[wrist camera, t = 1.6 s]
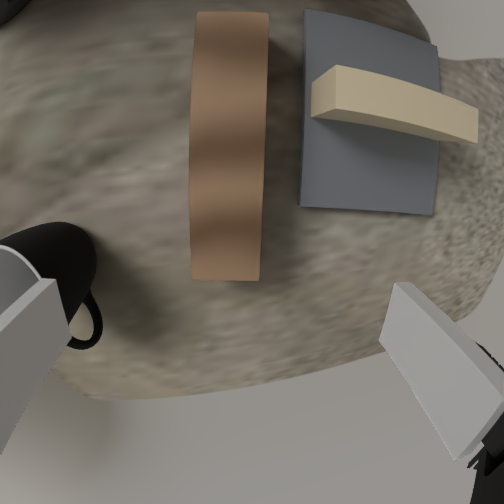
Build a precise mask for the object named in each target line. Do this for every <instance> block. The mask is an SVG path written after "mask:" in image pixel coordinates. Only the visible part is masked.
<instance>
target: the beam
mask: <svg viewBox="0 0 504 504" xmlns="http://www.w3.org/2000/svg"><path fill="white" fill-rule="evenodd" d="M268 33H269V13H262V12H241V11H212V12H197V19H196V29H195V41H194V53H193V68H192V84H191V106H190V140H189V210H190V245H191V268H192V280H206V281H259V272H260V251H261V228H262V205H263V180H264V155H265V128H266V99H267V67H268Z"/></svg>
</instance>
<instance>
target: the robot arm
mask: <svg viewBox="0 0 504 504" xmlns="http://www.w3.org/2000/svg"><path fill="white" fill-rule="evenodd" d="M30 1H31V0H0V26H1V25H2V24H4V23H5V22H7V21H8V20H10V19H11V18H12V17H13V16H15V15H16V14H17V13H18V12H19V11H20V10H21V9H22V8H24V7H25V6H26V5H27V4H28V3H29V2H30ZM71 338H72V336H71V333H70V329H69V326H68V323H67V320H66V316H65V313H64V309H63V306H62V302H61V298H60V294H59V290H58V286H57V282H56V279H46V278H42V279H41V280H39V281H38V282H37V283H36V284H35V285H33V286H32V287H31V288H30V289H29V290H28V291H26V292H25V293H24V294H23V295H22V296H21V297H20V298H19V299H17V300H16V301H15V302H14V303H13V304H12V305H11V306H10V307H9V308H7V309H6V310H5V311H4V312H3V313H2V314H1V315H0V454H2V452H3V450H4V448H5V446H6V444H7V442H8V440H9V438H10V436H11V434H12V432H13V431H14V429H15V427H16V425H17V423H18V422H19V420H20V418H21V416H22V414H23V413H24V411H25V409H26V407H27V406H28V404H29V402H30V401H31V399H32V397H33V396H34V394H35V392H36V390H37V389H38V388H39V386H40V384H41V382H42V381H43V380H44V378H45V377H46V375H47V373H48V372H49V370H50V369H51V367H52V366H53V364H54V363H55V361H56V360H57V358H58V357H59V355H60V354H61V352H62V351H63V349H64V348H65V347H66V345H67V344H68V342H69V341H70V339H71ZM379 342H380V343H381V344H382V346H383V347H384V349H385V350H386V352H387V353H388V355H389V356H390V358H391V359H392V361H393V362H394V364H395V365H396V367H397V368H398V370H399V372H400V373H401V375H402V376H403V378H404V379H405V381H406V382H407V384H408V385H409V387H410V389H411V390H412V391H413V393H414V395H415V396H416V398H417V400H418V401H419V403H420V405H421V406H422V408H423V409H424V411H425V413H426V414H427V416H428V417H429V419H430V421H431V423H432V424H433V426H434V428H435V429H436V431H437V433H438V434H439V436H440V438H441V439H442V441H443V443H444V445H445V446H446V448H447V450H448V452H449V453H450V455H451V457H452V459H453V461H456V460H458V459H460V458H462V457H464V456H465V455H468V454H469V453H471V452H472V451H473V450H474V449H475V448H476V446H477V445H478V444H479V443H480V442H481V441H482V442H483V444H484V447H483V448H482V449H481V450H480V451H479V452H478V454H477V455H476V456H475V457H474V458H473V459H472V460H471V461H470V462H469V464H468V466H467V468H470V467H471V466H472V465H473V464H474V463H475V462H476V461H477V460H478V459H479V460H478V463H477V464H476V465H475V467H474V469H476V470H477V473H476V478H475V484H474V488H473V494H472V498H471V502H470V504H504V368H503V367H502V366H501V365H498V362H497V361H496V360H495V359H494V358H493V357H491V354H489V353H488V352H487V351H486V349H485V348H484V347H483V346H481V345H479V344H478V343H476V342H474V341H473V340H472V339H471V338H470V337H469V336H468V335H467V334H466V333H465V332H464V331H463V330H462V329H461V328H460V327H459V326H458V325H457V324H456V323H455V322H454V321H452V320H451V319H450V318H449V317H448V316H447V315H446V314H445V313H444V312H443V311H442V310H441V309H440V308H439V307H437V306H436V305H435V304H434V303H433V302H432V301H431V300H430V299H429V298H428V297H426V296H425V295H424V294H423V293H422V292H421V291H420V290H419V289H417V288H416V287H415V286H414V285H413V284H412V283H411V282H394V286H393V290H392V295H391V299H390V302H389V306H388V310H387V314H386V317H385V321H384V324H383V328H382V331H381V335H380V338H379Z"/></svg>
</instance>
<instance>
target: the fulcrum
mask: <svg viewBox="0 0 504 504" xmlns="http://www.w3.org/2000/svg"><path fill="white" fill-rule="evenodd" d="M440 141H451V142H462V143H473V144H478V109H476V108H474V107H472V106H470V105H468V104H465V103H463V102H461V101H458V100H456V99H453V98H451V97H448V96H446V95H443V94H441V93H440V76H439V62H438V51H437V46H434V45H432V44H430V43H428V42H425V41H423V40H420V39H418V38H415V37H413V36H410V35H407V34H405V33H402V32H399V31H396V30H393V29H390V28H387V27H384V26H381V25H377V24H374V23H371V22H367V21H363V20H360V19H356V18H352V17H348V16H343V15H339V14H334V13H329V12H324V11H318V10H313V9H306V8H305V10H304V12H303V98H302V130H301V153H300V173H299V190H298V205H299V206H300V207H323V208H342V209H359V210H374V211H388V212H400V213H412V214H423V215H432V214H433V207H434V200H435V192H436V184H437V174H438V163H439V149H440Z"/></svg>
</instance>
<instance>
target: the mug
mask: <svg viewBox="0 0 504 504" xmlns="http://www.w3.org/2000/svg"><path fill="white" fill-rule="evenodd" d="M95 271H96V254H95V250H94V247H93V244H92V242H91V240H90V239H89V237H88V236H87V235H86V234H85V233H84V232H83V231H82V230H81V229H80V228H78V227H77V226H75V225H73V224H70V223H66V222H51V223H46V224H41V225H37V226H34V227H31V228H28V229H25V230H22V231H20V232H17V233H15V234H12V235H10V236H8V237H6V238H4V239H2V240H0V315H1V314H2V313H3V312H4V311H5V310H6V309H7V308H9V307H10V306H11V305H12V304H13V303H14V302H15V301H16V300H17V299H19V298H20V297H21V296H22V295H23V294H24V293H25V292H26V291H28V290H29V289H30V288H31V287H32V286H33V285H35V284H36V283H37V282H38V281H39V280H41V279H42V278H46V279H56V282H57V286H58V290H59V294H60V298H61V302H62V306H63V309H64V313H65V316H66V320H67V323H68V326H69V323H70V321H71V320H72V318H73V316H74V315H75V313H76V312H77V310H78V308H79V306H80V305H81V303H82V302H83V303H84V304H85V305H86V306H87V308H88V309H89V311H90V314H91V316H92V319H93V324H94V331H93V335H92V337H91V338H90V339H89V340H86V341H84V340H79V339H76V338H74V337H73V336H72V338H71V339H70V341H69V342H68V344H67V346H69V347H71V348H74V349H79V350H84V349H88V348H91V347H93V346H94V345H95V344H96V343H97V342H98V341H99V339H100V337H101V335H102V331H103V321H102V316H101V313H100V310H99V308H98V305H97V303H96V301H95V300H94V298H93V296H92V293H91V289H90V287H91V284H92V281H93V279H94V275H95Z"/></svg>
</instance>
